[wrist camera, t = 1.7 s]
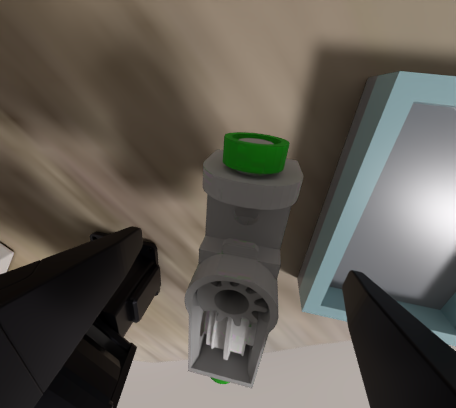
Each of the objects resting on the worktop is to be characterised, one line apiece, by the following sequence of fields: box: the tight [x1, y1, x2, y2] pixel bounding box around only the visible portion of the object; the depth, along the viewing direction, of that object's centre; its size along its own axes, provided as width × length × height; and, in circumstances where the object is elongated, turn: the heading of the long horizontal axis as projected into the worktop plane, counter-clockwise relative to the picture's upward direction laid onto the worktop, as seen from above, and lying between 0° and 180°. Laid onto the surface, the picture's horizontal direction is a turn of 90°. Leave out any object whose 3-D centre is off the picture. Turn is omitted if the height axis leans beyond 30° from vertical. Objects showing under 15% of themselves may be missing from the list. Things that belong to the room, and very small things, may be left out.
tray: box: [297, 71, 456, 346], centre depth 13 cm, size 11×15×3 cm
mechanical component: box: [185, 132, 303, 388], centre depth 11 cm, size 3×10×10 cm, turn 175°
